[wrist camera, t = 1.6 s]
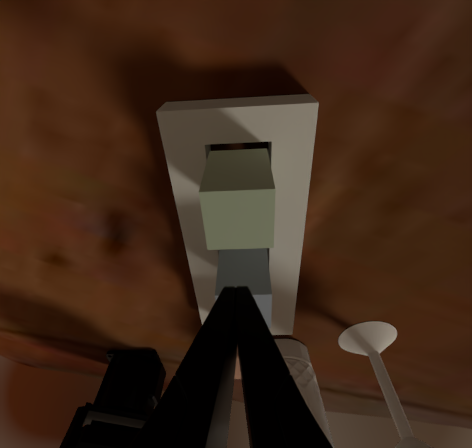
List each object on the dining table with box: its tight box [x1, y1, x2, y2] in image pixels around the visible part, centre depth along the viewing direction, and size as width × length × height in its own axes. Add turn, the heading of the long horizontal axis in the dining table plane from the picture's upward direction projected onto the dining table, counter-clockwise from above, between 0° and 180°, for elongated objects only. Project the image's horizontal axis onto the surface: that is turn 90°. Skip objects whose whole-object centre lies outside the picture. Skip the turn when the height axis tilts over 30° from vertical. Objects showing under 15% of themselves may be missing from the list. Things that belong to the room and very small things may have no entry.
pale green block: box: [199, 148, 276, 250], centre depth 15 cm, size 3×3×5 cm
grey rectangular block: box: [215, 248, 272, 328], centre depth 19 cm, size 3×3×5 cm
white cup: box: [274, 339, 334, 448], centre depth 30 cm, size 8×8×10 cm
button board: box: [156, 94, 319, 335], centre depth 22 cm, size 9×22×2 cm, turn 3°
